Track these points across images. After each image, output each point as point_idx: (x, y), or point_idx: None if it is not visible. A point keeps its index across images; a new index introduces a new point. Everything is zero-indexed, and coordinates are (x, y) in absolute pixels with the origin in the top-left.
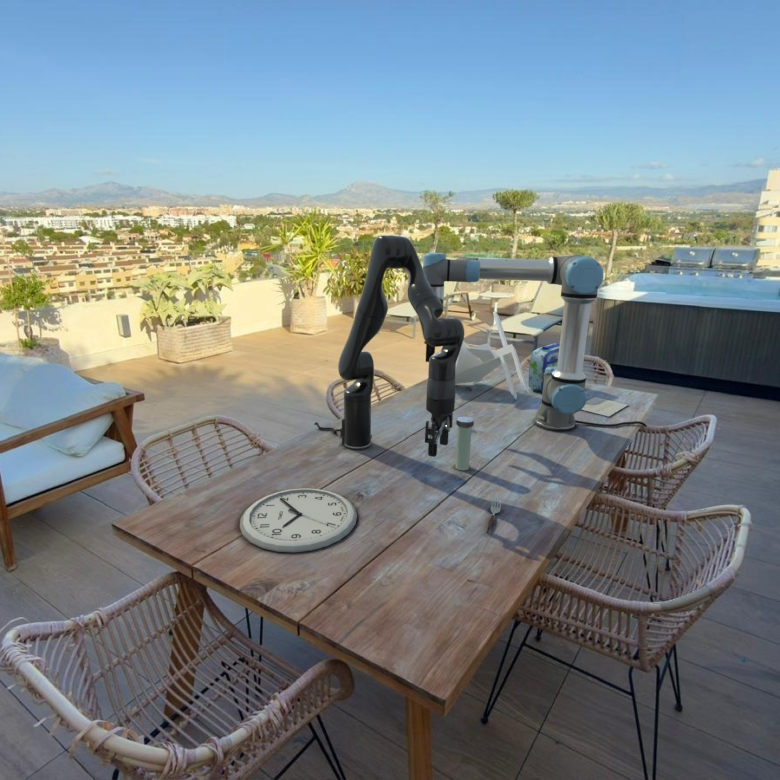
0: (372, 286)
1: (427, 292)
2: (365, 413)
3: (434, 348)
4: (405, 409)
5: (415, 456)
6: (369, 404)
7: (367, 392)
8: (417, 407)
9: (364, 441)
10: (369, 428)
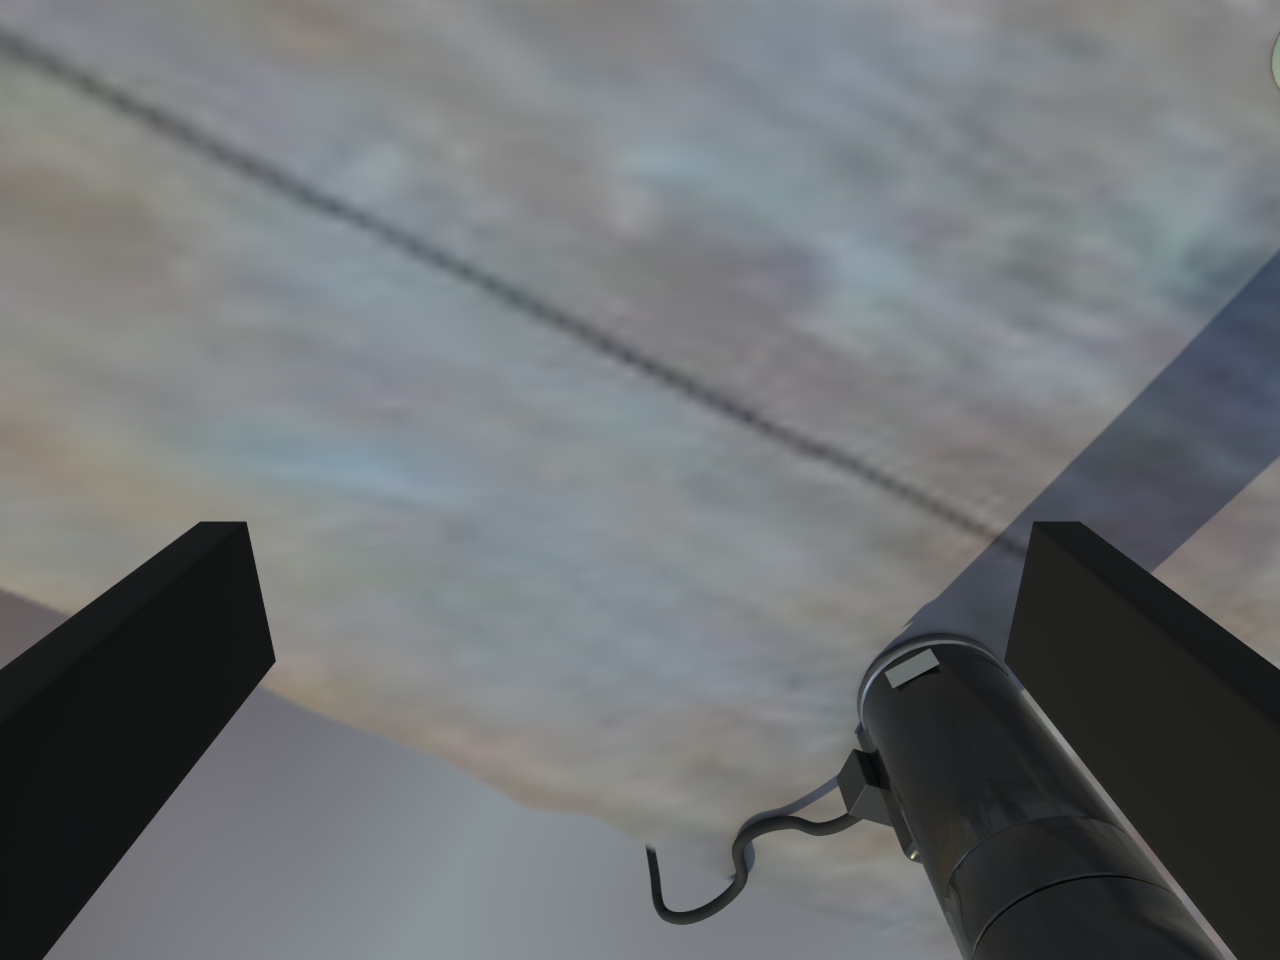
0: None
1: None
2: (1112, 813)
3: (184, 587)
4: (274, 504)
5: (1107, 374)
6: (1112, 842)
7: (1222, 957)
8: (197, 424)
9: (1012, 682)
10: (1014, 708)
